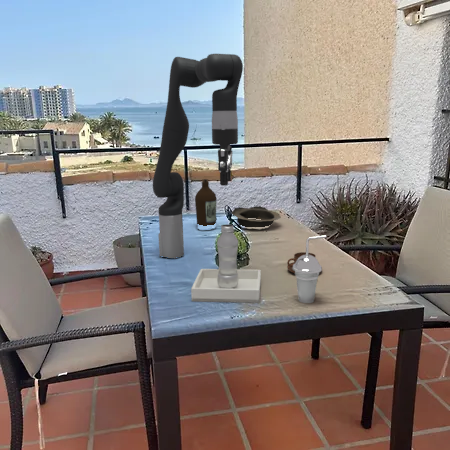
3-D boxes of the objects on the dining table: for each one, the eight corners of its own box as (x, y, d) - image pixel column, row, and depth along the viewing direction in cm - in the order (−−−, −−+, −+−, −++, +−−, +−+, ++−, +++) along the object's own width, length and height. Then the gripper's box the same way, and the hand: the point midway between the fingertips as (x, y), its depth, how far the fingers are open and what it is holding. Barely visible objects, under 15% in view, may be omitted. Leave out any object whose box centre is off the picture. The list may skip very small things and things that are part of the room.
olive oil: (191, 229, 217) (189, 179, 211) (207, 225, 224) (206, 177, 218) (205, 232, 209) (204, 181, 203) (221, 228, 216) (220, 179, 211)
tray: (191, 301, 128) (191, 288, 127) (201, 280, 145) (200, 268, 144) (259, 303, 126) (259, 290, 125) (260, 281, 143) (260, 269, 142)
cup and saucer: (301, 280, 144) (301, 262, 142) (280, 270, 154) (280, 253, 153) (329, 274, 149) (329, 257, 148) (307, 264, 159) (307, 248, 158)
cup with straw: (300, 292, 133) (302, 229, 128) (327, 299, 127) (330, 233, 123) (286, 301, 127) (287, 235, 122) (313, 308, 121) (316, 240, 116)
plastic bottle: (216, 284, 138) (215, 223, 134) (237, 283, 139) (237, 223, 134) (217, 291, 132) (216, 228, 127) (239, 290, 132) (239, 227, 128)
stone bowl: (234, 220, 232) (235, 204, 230) (280, 224, 229) (281, 208, 227) (228, 231, 209) (229, 212, 207) (279, 235, 206) (281, 217, 204)
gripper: (215, 127, 132) (216, 180, 135) (208, 128, 118) (209, 186, 122) (239, 127, 131) (240, 180, 135) (235, 127, 117) (236, 186, 121)
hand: (225, 183), depth 128 cm, fingers open, 8 cm apart
